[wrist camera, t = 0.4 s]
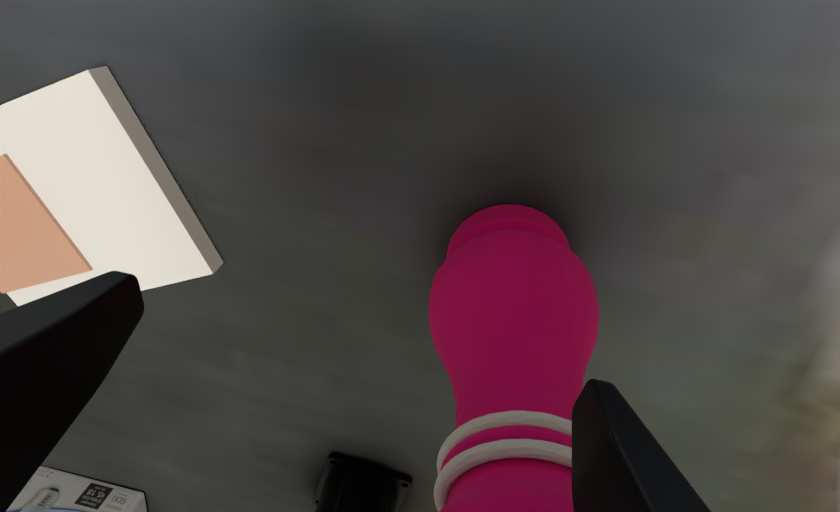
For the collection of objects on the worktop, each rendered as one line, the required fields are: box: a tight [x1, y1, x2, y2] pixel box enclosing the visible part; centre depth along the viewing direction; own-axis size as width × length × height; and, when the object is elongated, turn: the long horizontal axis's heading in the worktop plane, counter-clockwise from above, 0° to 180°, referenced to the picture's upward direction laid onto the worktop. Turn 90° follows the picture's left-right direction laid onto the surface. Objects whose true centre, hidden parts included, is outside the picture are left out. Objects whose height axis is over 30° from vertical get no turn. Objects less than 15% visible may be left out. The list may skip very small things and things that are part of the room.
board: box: [0, 66, 224, 306], centre depth 25 cm, size 14×11×1 cm
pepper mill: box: [429, 204, 599, 512], centre depth 16 cm, size 7×7×20 cm
